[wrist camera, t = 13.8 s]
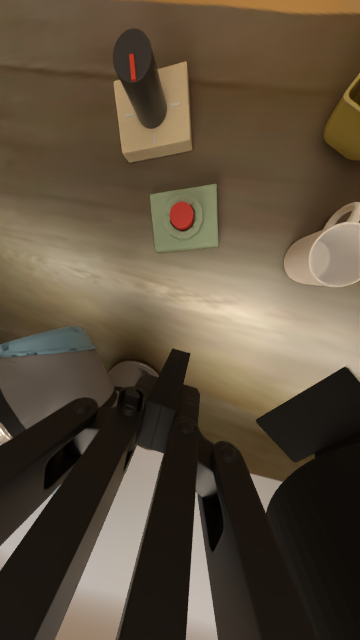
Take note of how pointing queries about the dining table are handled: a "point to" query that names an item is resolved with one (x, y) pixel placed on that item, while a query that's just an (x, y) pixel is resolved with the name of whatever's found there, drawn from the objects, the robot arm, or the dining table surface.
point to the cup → (328, 253)
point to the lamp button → (182, 215)
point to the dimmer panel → (172, 130)
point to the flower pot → (346, 123)
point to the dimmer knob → (140, 77)
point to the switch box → (203, 225)
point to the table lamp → (321, 502)
